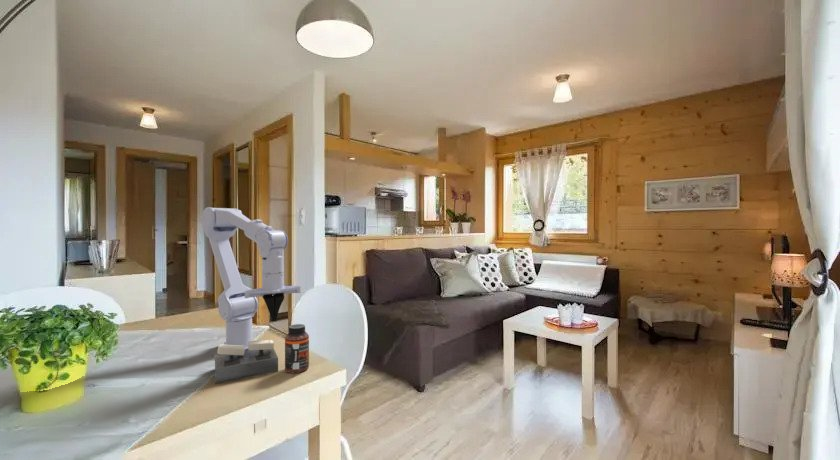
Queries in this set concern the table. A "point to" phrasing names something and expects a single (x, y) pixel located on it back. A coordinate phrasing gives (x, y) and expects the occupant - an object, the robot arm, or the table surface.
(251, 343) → the rocker
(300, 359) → the supplement bottle
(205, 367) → the table surface
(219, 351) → the block
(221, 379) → the rocker switch box
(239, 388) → the table surface
